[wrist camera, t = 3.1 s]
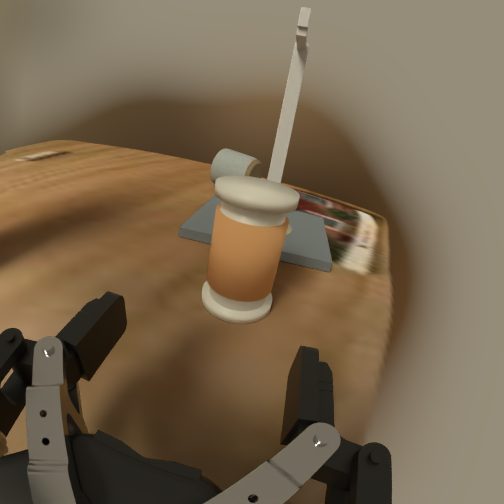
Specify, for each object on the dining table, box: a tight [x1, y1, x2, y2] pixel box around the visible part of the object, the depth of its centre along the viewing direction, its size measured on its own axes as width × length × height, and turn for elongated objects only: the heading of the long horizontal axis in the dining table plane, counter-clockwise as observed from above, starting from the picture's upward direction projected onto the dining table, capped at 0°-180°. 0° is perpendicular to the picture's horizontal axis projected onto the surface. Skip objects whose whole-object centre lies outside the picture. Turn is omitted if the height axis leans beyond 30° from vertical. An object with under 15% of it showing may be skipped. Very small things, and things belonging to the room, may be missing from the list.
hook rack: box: [179, 7, 332, 272], centre depth 32 cm, size 18×16×31 cm
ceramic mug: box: [211, 149, 263, 184], centre depth 55 cm, size 11×8×8 cm
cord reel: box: [202, 175, 300, 324], centre depth 22 cm, size 6×6×10 cm
